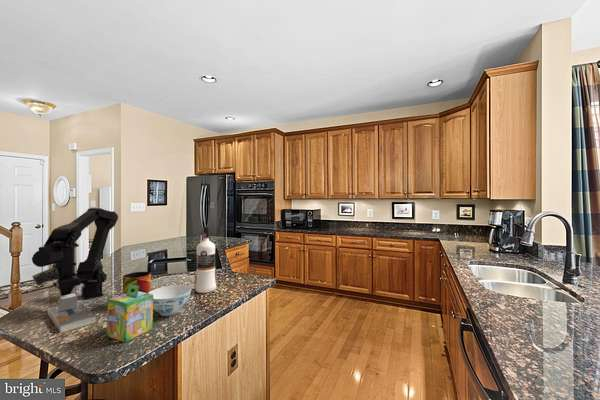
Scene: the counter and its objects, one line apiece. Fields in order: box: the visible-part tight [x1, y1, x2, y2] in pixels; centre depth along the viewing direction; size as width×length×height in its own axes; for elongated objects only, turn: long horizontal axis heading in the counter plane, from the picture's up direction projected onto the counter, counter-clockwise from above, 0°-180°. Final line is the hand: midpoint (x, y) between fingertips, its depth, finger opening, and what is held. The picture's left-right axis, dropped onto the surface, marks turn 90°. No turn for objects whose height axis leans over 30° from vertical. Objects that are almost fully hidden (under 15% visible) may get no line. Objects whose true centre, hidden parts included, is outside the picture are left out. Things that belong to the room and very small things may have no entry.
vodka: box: [194, 226, 217, 294], centre depth 120 cm, size 9×9×30 cm
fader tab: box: [57, 293, 78, 311], centre depth 94 cm, size 5×3×5 cm, turn 142°
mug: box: [122, 271, 152, 295], centre depth 106 cm, size 10×14×12 cm
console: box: [47, 301, 97, 333], centre depth 91 cm, size 9×22×4 cm, turn 52°
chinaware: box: [149, 284, 192, 317], centre depth 96 cm, size 15×15×8 cm
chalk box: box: [106, 285, 154, 343], centre depth 81 cm, size 9×9×15 cm
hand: (64, 301), depth 98 cm, fingers closed
